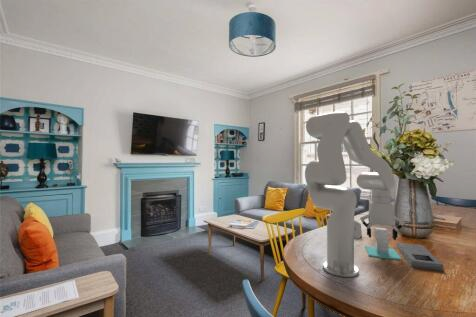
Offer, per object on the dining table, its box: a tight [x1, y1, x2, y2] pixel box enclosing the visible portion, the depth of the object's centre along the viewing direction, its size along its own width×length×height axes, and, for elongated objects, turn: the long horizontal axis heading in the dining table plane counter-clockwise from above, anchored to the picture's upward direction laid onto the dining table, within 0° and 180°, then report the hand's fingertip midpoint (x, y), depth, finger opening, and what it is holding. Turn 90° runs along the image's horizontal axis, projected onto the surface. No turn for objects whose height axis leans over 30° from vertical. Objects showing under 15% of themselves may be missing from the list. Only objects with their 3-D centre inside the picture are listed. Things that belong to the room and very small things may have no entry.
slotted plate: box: [396, 242, 444, 272], centre depth 102 cm, size 22×10×2 cm, turn 159°
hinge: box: [354, 219, 363, 239], centre depth 135 cm, size 17×5×10 cm, turn 52°
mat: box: [364, 245, 402, 261], centre depth 108 cm, size 12×12×1 cm
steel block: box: [374, 227, 390, 254], centre depth 108 cm, size 4×4×10 cm
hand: (381, 237), depth 108 cm, fingers open, 9 cm apart
